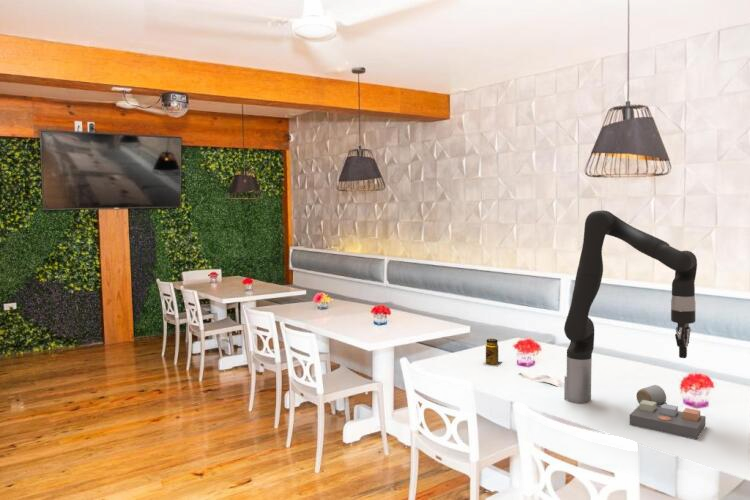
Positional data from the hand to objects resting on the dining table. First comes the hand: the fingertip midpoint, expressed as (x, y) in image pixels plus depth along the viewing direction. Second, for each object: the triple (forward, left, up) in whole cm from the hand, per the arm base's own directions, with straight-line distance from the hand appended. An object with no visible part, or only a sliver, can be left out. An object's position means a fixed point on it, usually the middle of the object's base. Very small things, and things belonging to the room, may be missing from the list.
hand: (682, 357), depth 204 cm
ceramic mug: (-12, +11, -24) cm, 28 cm away
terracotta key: (+4, -4, -21) cm, 21 cm away
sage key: (-10, -3, -21) cm, 23 cm away
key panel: (-3, -6, -23) cm, 24 cm away
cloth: (-58, +19, -24) cm, 66 cm away
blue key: (-3, -3, -20) cm, 21 cm away
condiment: (-89, +29, -24) cm, 97 cm away
